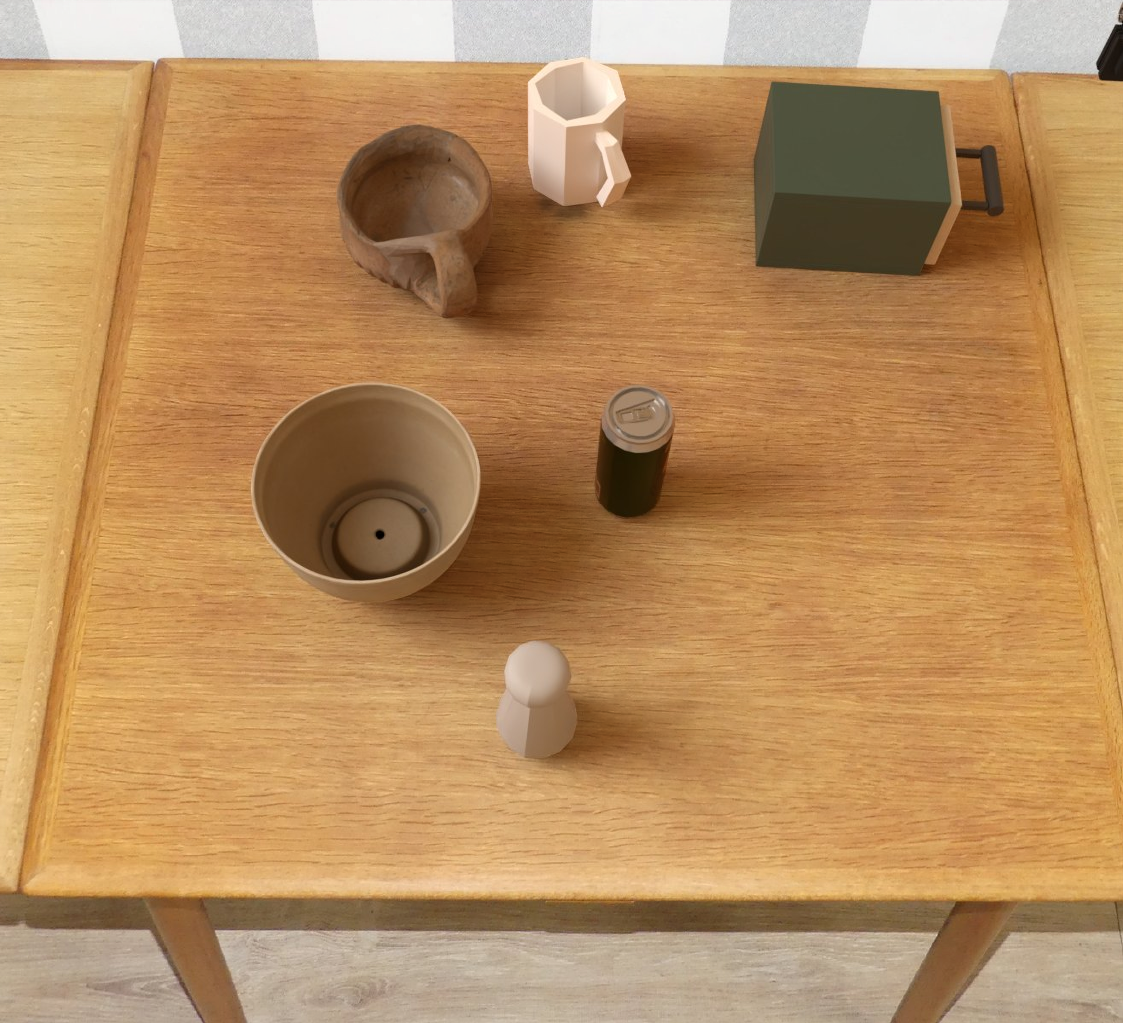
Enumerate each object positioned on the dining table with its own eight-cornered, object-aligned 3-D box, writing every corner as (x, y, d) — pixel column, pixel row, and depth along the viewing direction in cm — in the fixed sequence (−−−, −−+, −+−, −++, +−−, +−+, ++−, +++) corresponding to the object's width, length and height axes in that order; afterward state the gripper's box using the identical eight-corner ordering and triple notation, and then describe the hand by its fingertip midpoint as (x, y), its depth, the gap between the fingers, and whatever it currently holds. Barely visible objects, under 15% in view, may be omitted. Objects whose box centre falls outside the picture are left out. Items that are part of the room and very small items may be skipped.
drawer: (975, 170, 114) (1004, 107, 107) (987, 268, 109) (1018, 208, 102) (779, 159, 114) (795, 95, 107) (783, 256, 109) (800, 195, 102)
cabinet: (908, 169, 115) (939, 91, 106) (919, 276, 109) (952, 202, 101) (753, 159, 115) (771, 81, 106) (755, 266, 109) (774, 192, 101)
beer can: (603, 528, 97) (612, 452, 86) (587, 470, 99) (593, 389, 89) (668, 514, 98) (685, 438, 87) (650, 457, 100) (665, 376, 89)
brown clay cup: (569, 274, 107) (544, 214, 97) (441, 373, 106) (405, 323, 97) (455, 146, 113) (422, 78, 103) (335, 239, 112) (290, 180, 103)
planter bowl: (298, 664, 91) (271, 607, 81) (263, 480, 98) (234, 408, 88) (507, 612, 93) (505, 551, 84) (459, 436, 100) (451, 361, 91)
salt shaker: (481, 717, 90) (474, 655, 78) (545, 675, 91) (548, 608, 80) (526, 782, 87) (526, 728, 76) (591, 738, 89) (600, 678, 77)
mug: (511, 161, 114) (509, 80, 105) (588, 125, 116) (592, 43, 108) (581, 247, 110) (585, 170, 101) (659, 208, 112) (670, 129, 103)
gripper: (1319, -70, 76) (1182, 147, 92) (1266, -215, 83) (1148, 10, 99) (1197, -75, 76) (1082, 142, 92) (1155, -220, 83) (1055, 6, 99)
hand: (1116, 73), depth 95 cm, fingers closed
